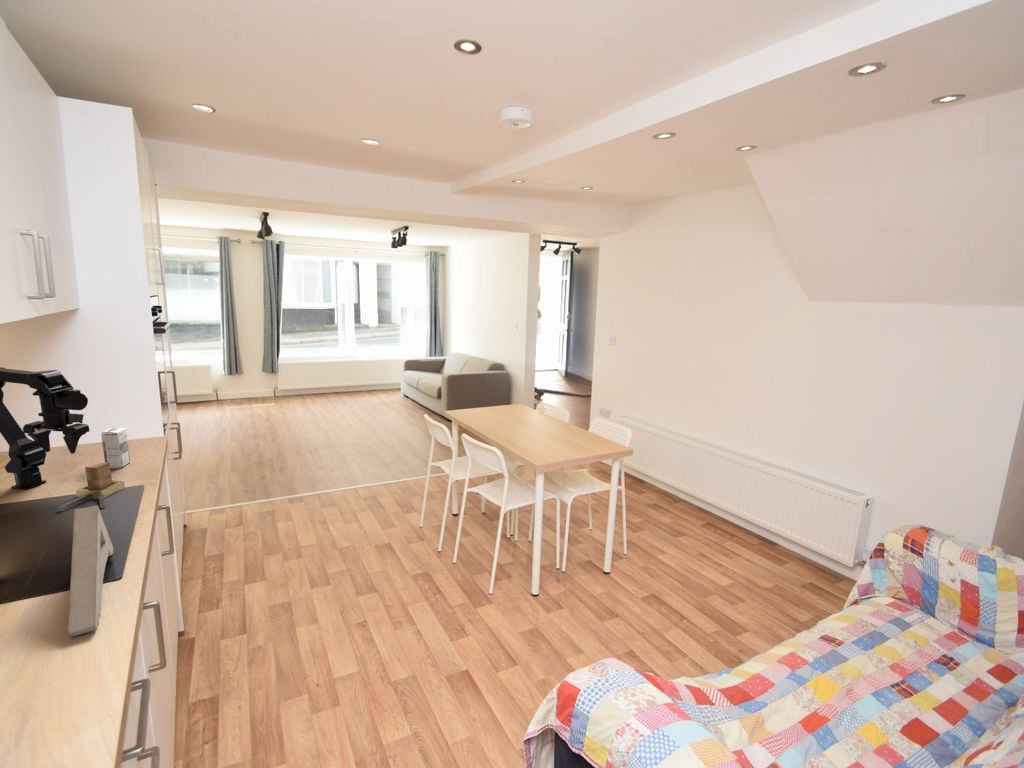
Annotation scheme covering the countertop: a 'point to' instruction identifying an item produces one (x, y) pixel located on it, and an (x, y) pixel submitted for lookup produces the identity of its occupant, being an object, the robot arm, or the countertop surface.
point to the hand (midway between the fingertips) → (60, 452)
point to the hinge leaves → (93, 495)
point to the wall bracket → (87, 569)
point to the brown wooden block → (98, 476)
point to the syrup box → (116, 447)
